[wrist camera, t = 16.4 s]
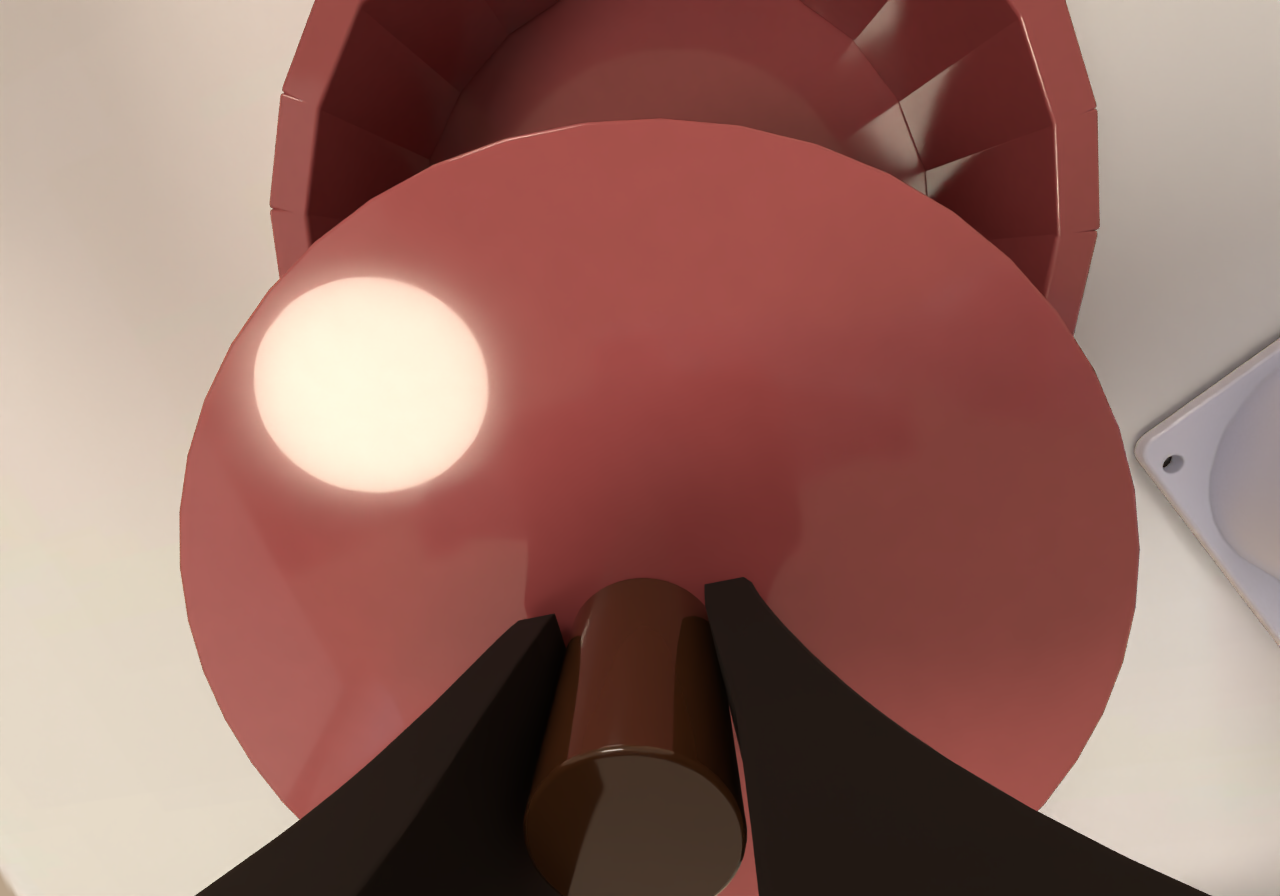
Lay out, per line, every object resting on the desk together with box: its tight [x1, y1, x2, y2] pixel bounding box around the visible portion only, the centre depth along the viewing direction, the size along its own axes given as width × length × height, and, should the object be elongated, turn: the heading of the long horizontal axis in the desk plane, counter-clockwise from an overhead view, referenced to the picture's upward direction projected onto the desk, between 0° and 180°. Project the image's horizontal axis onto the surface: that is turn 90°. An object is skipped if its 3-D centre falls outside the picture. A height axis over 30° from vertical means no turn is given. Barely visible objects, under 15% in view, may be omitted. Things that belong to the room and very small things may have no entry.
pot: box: [270, 0, 1100, 336], centre depth 13 cm, size 14×14×5 cm
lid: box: [180, 118, 1140, 896], centre depth 8 cm, size 15×15×5 cm
